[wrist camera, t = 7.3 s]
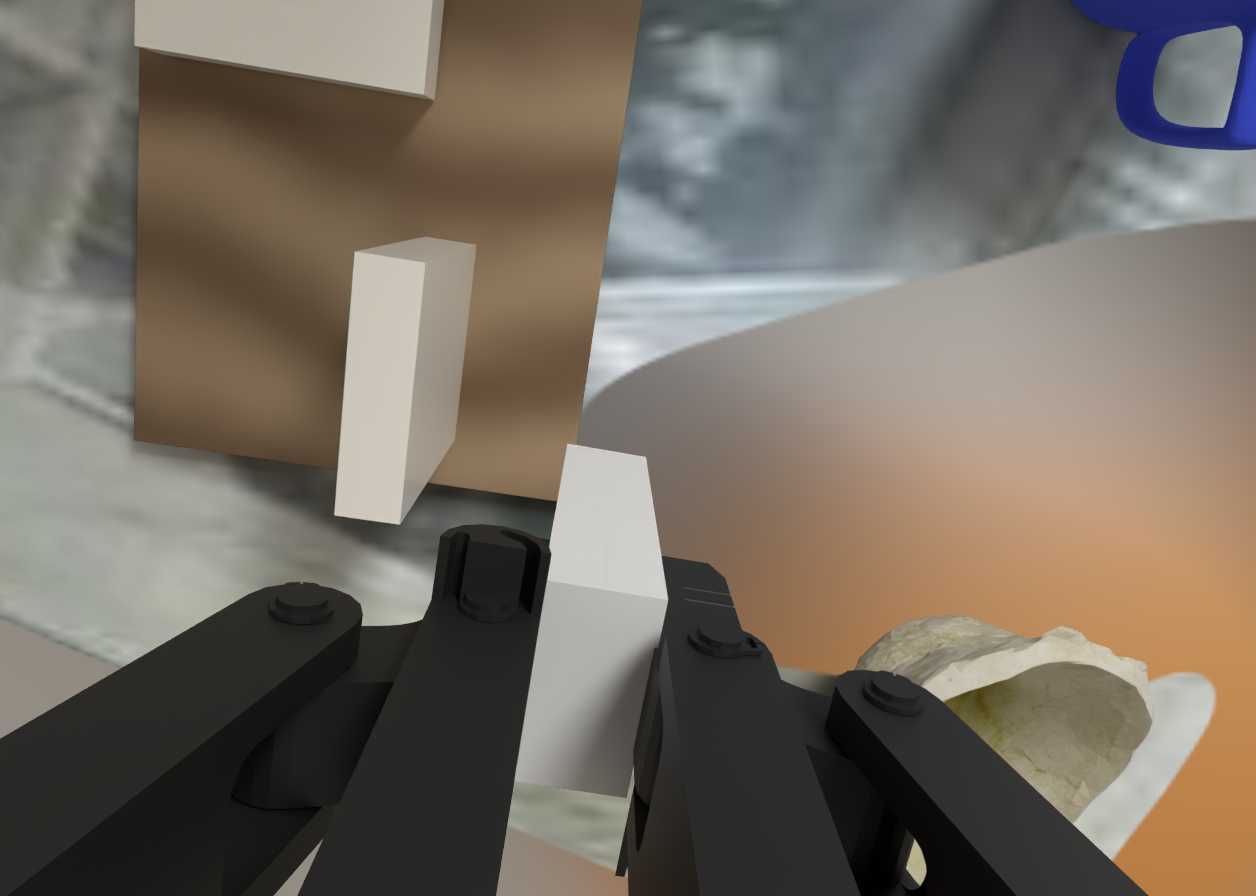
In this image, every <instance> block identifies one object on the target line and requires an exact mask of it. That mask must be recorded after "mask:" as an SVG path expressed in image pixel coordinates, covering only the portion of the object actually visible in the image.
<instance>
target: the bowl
mask: <svg viewBox="0 0 1256 896" xmlns="http://www.w3.org/2000/svg"><path fill="white" fill-rule="evenodd" d="M854 670H871V671H880V670H883V671H888V672H892V673H893V675H894V676H896V674H898V675H901V676H904V677H907V678H908V679H910V681H911V682H913V683H915V684H917V685H919V686H921V687H923V688H925V689H927V690H928V691H929V692H931V693H932V694H933V695H935V696H936V697H937V698H939V699H940V700H941V701H942V702H944V703H945V704H946V705H947V706H948V707H949V708H950V709H951V710H952V711H953V712H954V713H955V714H956V715H957V716H958V717H959V718H961V719H962V720H963V721H964V722H965V723H966V724H967V725H968V726H969V727H970V728H971V729H972V730H973V731H974V732H975V733H976V734H977V735H979V736H980V737H981V738H982V739H983V740H984V741H985V742H986V743H987V744H988V745H989V746H990V747H991V748H992V749H993V750H994V751H996V752H997V753H998V754H999V755H1000V756H1001V757H1002V758H1003V759H1004V760H1005V761H1006V762H1007V763H1008V764H1009V765H1010V766H1011V767H1012V768H1014V769H1015V770H1016V771H1017V772H1018V773H1019V774H1020V775H1021V776H1022V777H1023V778H1024V779H1025V780H1026V781H1027V782H1028V783H1029V784H1031V785H1032V786H1033V787H1034V788H1035V789H1036V790H1037V791H1038V792H1039V793H1040V794H1041V795H1042V796H1043V797H1044V798H1045V799H1046V800H1047V801H1049V802H1050V803H1051V804H1052V805H1053V806H1054V807H1055V808H1056V809H1057V810H1058V811H1059V812H1060V813H1061V814H1062V815H1063V816H1064V817H1066V818H1067V819H1068V820H1069V821H1070V822H1071V823H1073V822H1075V821H1076V820H1077V819H1078V817H1079V816H1080V815H1081V814H1082V813H1083V811H1084V810H1085V809H1086V808H1087V807H1088V805H1089V804H1090V803H1091V802H1092V801H1093V800H1094V799H1095V798H1096V797H1097V796H1099V795H1100V794H1101V793H1102V792H1103V791H1104V790H1105V789H1106V788H1107V787H1108V786H1109V785H1110V784H1112V783H1113V782H1114V781H1115V780H1116V779H1117V778H1118V777H1119V776H1120V774H1121V773H1122V772H1123V771H1124V769H1125V768H1126V767H1127V765H1128V764H1129V762H1130V761H1131V759H1132V757H1133V755H1134V753H1135V751H1136V749H1137V748H1138V747H1139V746H1140V744H1141V743H1142V742H1143V741H1144V739H1145V738H1146V737H1147V735H1148V733H1149V731H1150V728H1151V725H1152V722H1153V714H1154V707H1153V704H1152V702H1151V699H1150V696H1149V691H1148V676H1147V672H1146V671H1147V666H1146V665H1145V663H1144V662H1142V661H1137V660H1134V659H1131V658H1128V657H1117V656H1115V655H1114V654H1113V653H1112V651H1111V650H1110V649H1109V648H1106V647H1104V646H1101V645H1098V644H1094V643H1092V642H1089V641H1088V640H1087V639H1086V638H1085V637H1084V635H1083V634H1082V633H1080V632H1078V631H1076V630H1073V629H1070V628H1067V627H1064V626H1060V627H1058V628H1056V629H1053V630H1051V631H1049V632H1046V633H1044V635H1043V636H1042V637H1040V638H1033V639H1030V638H1026V637H1023V636H1019V635H1016V634H1013V633H1010V632H1008V631H1006V630H1003V629H1000V628H998V627H994V626H992V625H990V624H988V623H986V622H982V621H980V620H977V619H974V618H970V617H966V616H958V615H949V616H945V617H941V618H940V617H936V616H933V617H927V618H922V619H919V620H916V621H915V620H914V621H909V622H907V623H905V624H902V625H901V626H899V627H897V628H895V629H893V630H891V631H890V632H888V633H887V634H886V635H884V636H883V637H882V638H881V639H879V640H878V641H877V642H876V643H874V644H873V645H872V646H871V648H869V649H868V650H867V651H866V652H865V653H864V654H863V655H862V656H861V657H860V658H859V660H858V664H857V666H856V668H855V669H854ZM906 869H907V870H908V872H909V873H910V874H911V876H912V877H913V878H914V880H915V881H916V882H917V883H918V884H919V885H920V886H921V884H922V882H923V880H924V878H925V875H926V864H925V860H924V857H923V854H922V851H921V849H920V847H919V845H918V843H917V842H916V840H914V843H913V846H912V850H911V853H910V856H909V860H908V863H907V866H906Z"/></svg>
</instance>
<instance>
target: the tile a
mask: <svg viewBox="0 0 1256 896" xmlns="http://www.w3.org/2000/svg"><path fill="white" fill-rule="evenodd" d="M443 9H444V0H135V36H134V46H137V47H140V48H144V49H147V50H150V51H153V52H156V53H159V54H163V55H169V56H174V57H180V58H186V59H192V60H198V61H204V62H210V63H216V64H222V65H228V66H234V67H239V68H245V69H251V70H257V71H263V72H269V73H275V74H281V75H287V76H293V77H298V78H304V79H310V80H316V81H322V82H328V83H334V84H340V85H346V86H352V87H358V88H363V89H369V90H375V91H381V92H387V93H393V94H399V95H405V96H411V97H417V98H422V99H428V100H434V101H435V92H436V82H437V71H438V61H439V50H440V40H441V30H442V19H443Z"/></svg>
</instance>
